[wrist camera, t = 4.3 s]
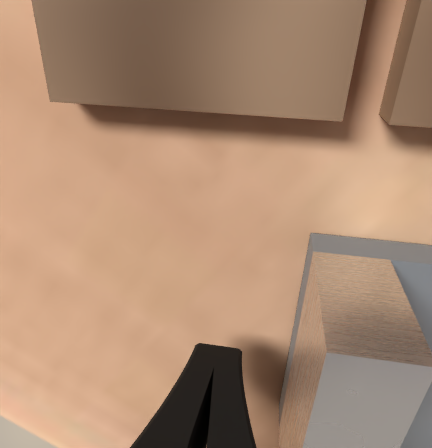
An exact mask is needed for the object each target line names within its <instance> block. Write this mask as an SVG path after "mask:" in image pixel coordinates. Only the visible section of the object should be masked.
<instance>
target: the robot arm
mask: <svg viewBox="0 0 432 448" xmlns="http://www.w3.org/2000/svg"><path fill="white" fill-rule="evenodd" d="M206 445H207V447H206ZM130 448H256V444H255V440H254V437H253V432H252V428H251V424H250V419H249V414H248V409H247V404H246V398H245V392H244V384H243V376H242V351H241V350H240V349H238V348H231V347H224V346H216V345H209V344H202V343H199V344H197V345H196V346H195V348H194V350H193V352H192V355H191V357H190V359H189V361H188V362H187V364H186V366H185V368H184V370H183V372H182V373H181V375H180V377H179V378H178V380H177V382H176V383H175V385H174V387H173V388H172V390H171V391H170V393H169V394H168V396H167V397H166V399H165V401H164V402H163V404H162V405H161V407H160V408H159V409H158V411H157V412H156V414H155V415H154V416H153V418H152V419H151V421H150V422H149V423H148V425H147V426H146V427H145V429H144V430H143V432H142V433H141V434H140V435H139V437H138V438H137V439H136V441H135V442H134V443H133V444H132V446H131V447H130Z"/></svg>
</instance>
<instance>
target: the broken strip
mask: <svg viewBox="0 0 432 448" xmlns="http://www.w3.org/2000/svg"><path fill="white" fill-rule="evenodd" d="M366 1H367V0H32V6H33V11H34V17H35V22H36V28H37V33H38V39H39V44H40V50H41V55H42V61H43V66H44V72H45V77H46V83H47V88H48V94H49V99H50V102H62V103H77V104H91V105H106V106H121V107H135V108H150V109H164V110H179V111H194V112H208V113H223V114H237V115H252V116H267V117H281V118H296V119H310V120H325V121H340V122H343V117H344V112H345V107H346V102H347V97H348V92H349V87H350V82H351V77H352V72H353V67H354V62H355V57H356V52H357V47H358V42H359V37H360V32H361V27H362V22H363V16H364V11H365V6H366ZM379 115H380V116H381V117H382V118H383V119H384V120H385V121H386V122H387V123H388V124H389V125H398V126H412V127H427V128H432V0H407V2H406V6H405V10H404V14H403V18H402V22H401V26H400V30H399V34H398V38H397V42H396V47H395V51H394V55H393V59H392V63H391V67H390V71H389V75H388V79H387V83H386V88H385V92H384V96H383V100H382V104H381V108H380V112H379Z"/></svg>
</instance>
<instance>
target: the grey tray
mask: <svg viewBox="0 0 432 448" xmlns="http://www.w3.org/2000/svg"><path fill="white" fill-rule="evenodd" d="M279 448H432V245H424V244H414V243H404V242H395V241H385V240H375V239H366V238H356V237H346V236H337V235H327V234H317V233H311V234H310V239H309V245H308V250H307V256H306V261H305V267H304V272H303V277H302V283H301V288H300V294H299V299H298V305H297V310H296V316H295V321H294V327H293V332H292V337H291V343H290V348H289V354H288V359H287V365H286V370H285V376H284V381H283V386H282V392H281V397H280V403H279Z"/></svg>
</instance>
